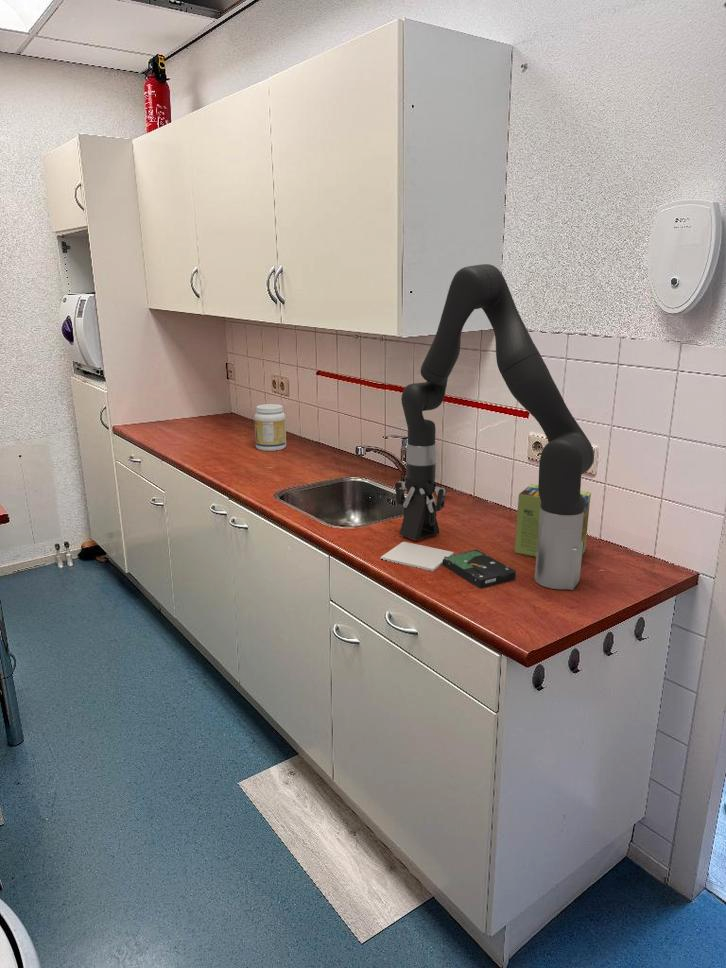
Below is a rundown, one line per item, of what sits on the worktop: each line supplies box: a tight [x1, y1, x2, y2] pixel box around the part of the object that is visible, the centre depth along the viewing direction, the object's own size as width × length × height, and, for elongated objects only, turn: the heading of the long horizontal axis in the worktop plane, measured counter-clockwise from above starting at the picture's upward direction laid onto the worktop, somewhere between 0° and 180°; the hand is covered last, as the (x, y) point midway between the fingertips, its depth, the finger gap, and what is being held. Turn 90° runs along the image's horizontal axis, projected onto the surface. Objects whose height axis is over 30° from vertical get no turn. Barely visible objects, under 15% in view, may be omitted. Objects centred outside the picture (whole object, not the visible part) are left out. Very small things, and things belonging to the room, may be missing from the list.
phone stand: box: [399, 493, 440, 542], centre depth 180 cm, size 9×6×12 cm, turn 129°
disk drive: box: [442, 549, 517, 589], centre depth 160 cm, size 10×3×15 cm
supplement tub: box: [254, 403, 287, 452], centre depth 274 cm, size 12×12×17 cm
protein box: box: [513, 483, 592, 558], centre depth 170 cm, size 10×15×16 cm
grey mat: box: [380, 541, 455, 572], centre depth 168 cm, size 14×12×1 cm
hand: (419, 522), depth 181 cm, fingers closed on phone stand, 6 cm apart
